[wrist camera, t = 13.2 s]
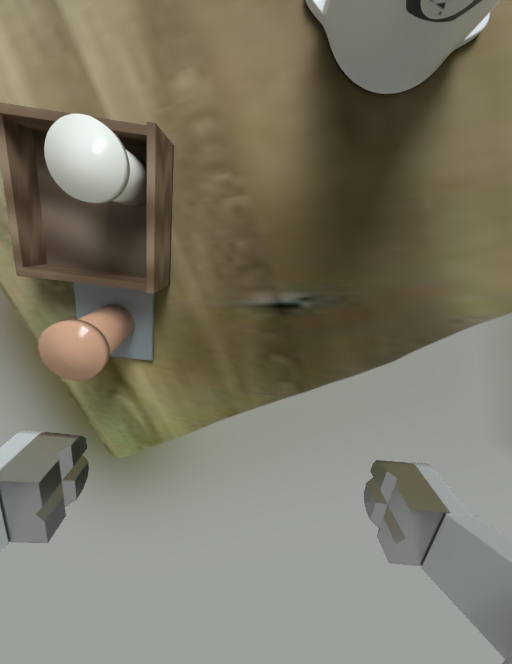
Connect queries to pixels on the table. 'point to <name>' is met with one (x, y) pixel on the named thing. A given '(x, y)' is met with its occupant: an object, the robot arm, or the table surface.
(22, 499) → the robot arm
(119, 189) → the white glossy domed part
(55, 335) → the peach mushroom knob
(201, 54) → the table surface
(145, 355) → the slate tile
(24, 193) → the wooden tray
